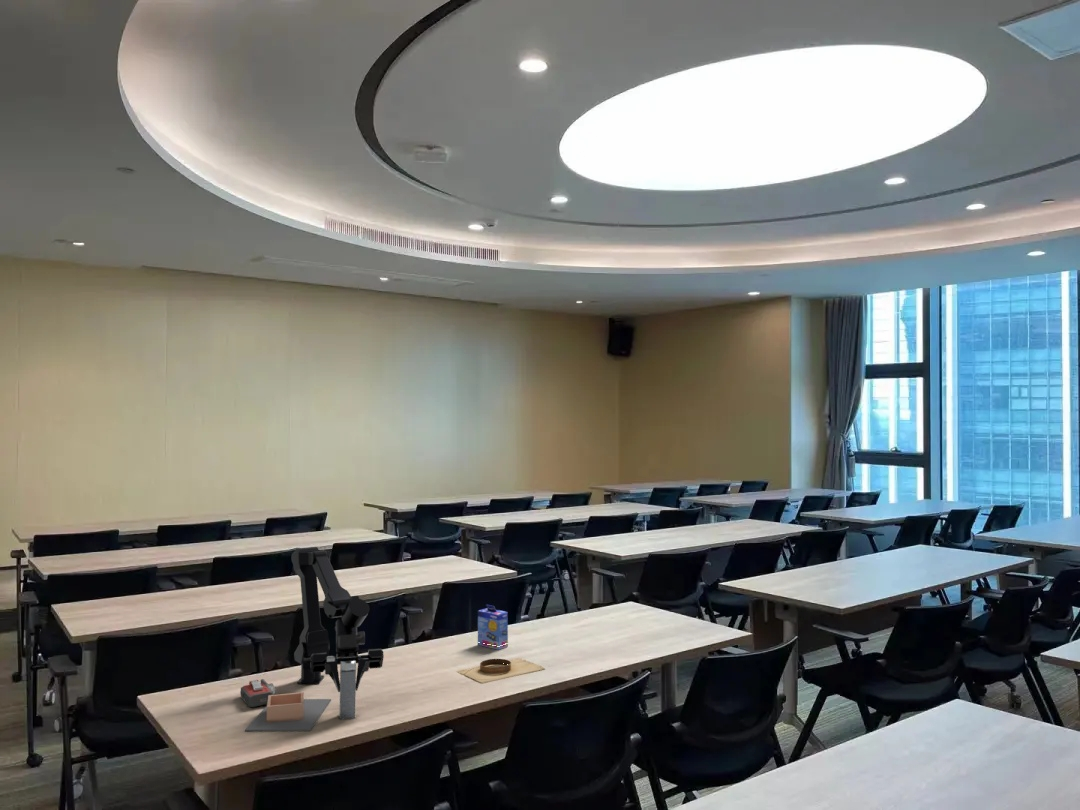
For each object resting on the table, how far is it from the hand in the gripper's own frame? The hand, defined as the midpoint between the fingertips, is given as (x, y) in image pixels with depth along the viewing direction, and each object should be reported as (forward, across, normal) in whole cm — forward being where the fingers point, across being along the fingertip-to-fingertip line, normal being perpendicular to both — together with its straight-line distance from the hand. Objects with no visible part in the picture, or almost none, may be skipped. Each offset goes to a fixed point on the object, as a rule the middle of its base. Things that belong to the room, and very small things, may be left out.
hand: (347, 690), depth 201 cm
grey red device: (-11, -23, +21) cm, 33 cm away
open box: (+1, -15, +9) cm, 18 cm away
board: (-15, +48, +26) cm, 57 cm away
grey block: (+4, 0, +6) cm, 7 cm away
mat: (+1, -14, +9) cm, 17 cm away
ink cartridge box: (-35, +52, +45) cm, 77 cm away
